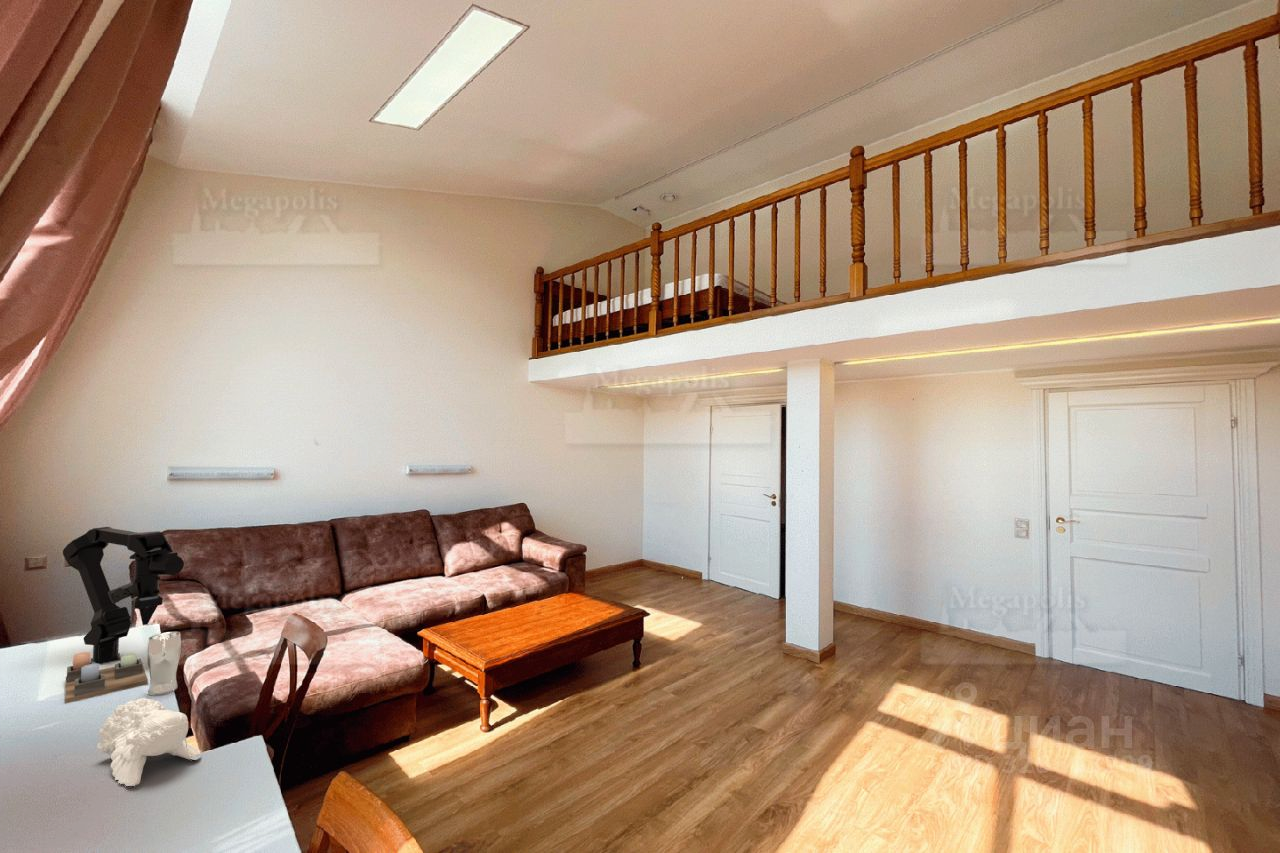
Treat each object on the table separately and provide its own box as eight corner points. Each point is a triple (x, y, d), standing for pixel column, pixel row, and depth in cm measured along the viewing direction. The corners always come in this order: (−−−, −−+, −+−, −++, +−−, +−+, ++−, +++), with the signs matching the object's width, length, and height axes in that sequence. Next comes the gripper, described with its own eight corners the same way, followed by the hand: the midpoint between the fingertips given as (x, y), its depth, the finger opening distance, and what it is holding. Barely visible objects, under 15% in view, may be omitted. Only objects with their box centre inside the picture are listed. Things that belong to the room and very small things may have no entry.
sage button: (119, 671, 157) (120, 655, 157) (135, 668, 159) (136, 652, 160) (120, 675, 155) (121, 659, 155) (136, 671, 157) (137, 655, 157)
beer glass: (163, 697, 145) (166, 640, 146) (138, 696, 145) (140, 639, 146) (186, 685, 152) (188, 631, 153) (161, 685, 152) (163, 631, 153)
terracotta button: (72, 670, 155) (73, 654, 155) (89, 666, 157) (90, 651, 157) (72, 673, 152) (73, 657, 152) (89, 670, 155) (90, 654, 155)
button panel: (65, 681, 154) (66, 666, 155) (141, 664, 166) (142, 651, 166) (64, 703, 141) (65, 687, 142) (147, 684, 153) (148, 669, 153)
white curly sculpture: (174, 688, 128) (211, 700, 117) (172, 744, 126) (209, 761, 116) (98, 709, 117) (130, 724, 106) (95, 770, 115) (128, 792, 105)
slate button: (80, 682, 147) (81, 665, 147) (98, 678, 149) (99, 662, 149) (80, 686, 144) (81, 669, 145) (98, 682, 147) (99, 665, 147)
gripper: (109, 572, 168) (107, 623, 168) (112, 583, 155) (109, 638, 155) (157, 567, 176) (155, 615, 176) (163, 577, 163) (161, 629, 163)
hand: (145, 624), depth 167 cm, fingers closed
